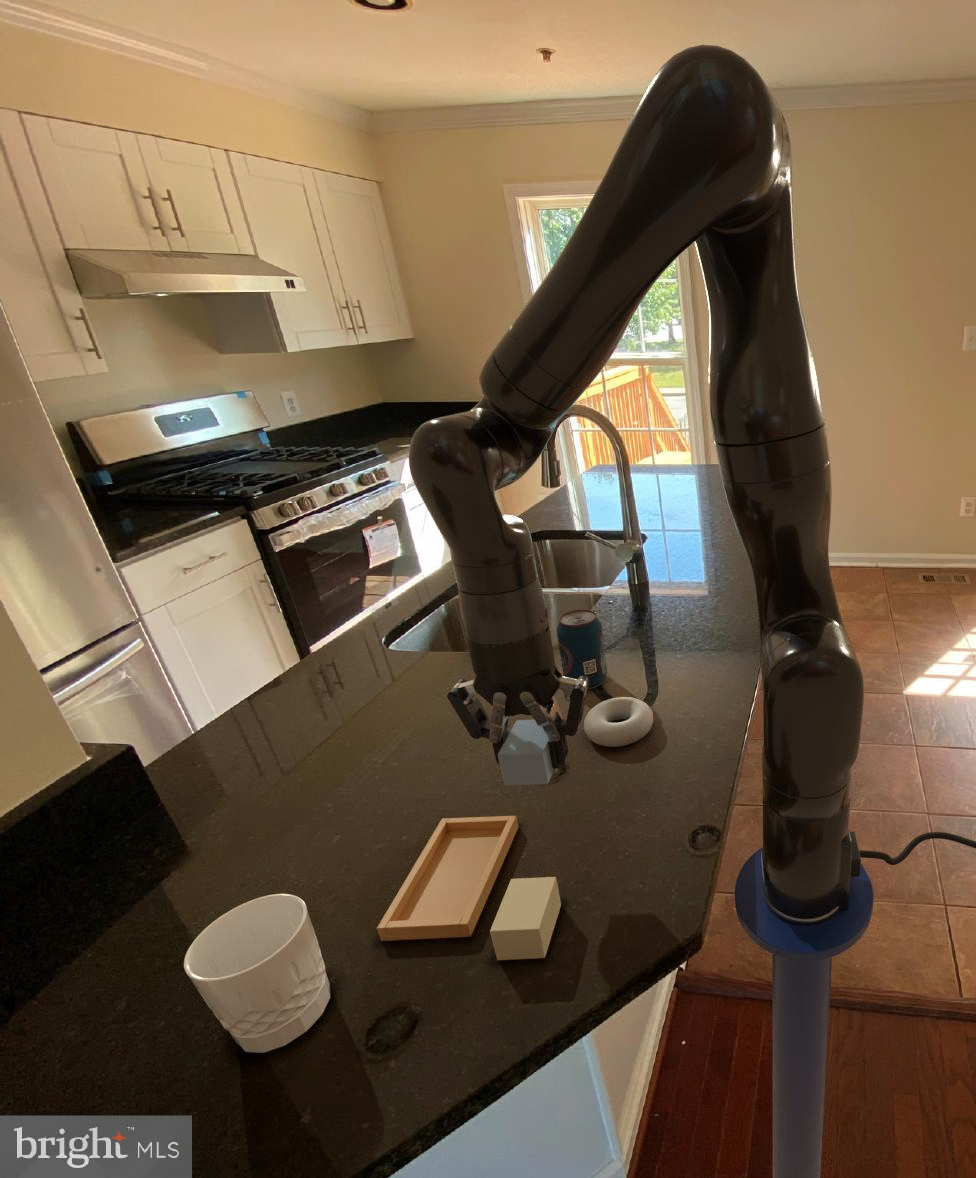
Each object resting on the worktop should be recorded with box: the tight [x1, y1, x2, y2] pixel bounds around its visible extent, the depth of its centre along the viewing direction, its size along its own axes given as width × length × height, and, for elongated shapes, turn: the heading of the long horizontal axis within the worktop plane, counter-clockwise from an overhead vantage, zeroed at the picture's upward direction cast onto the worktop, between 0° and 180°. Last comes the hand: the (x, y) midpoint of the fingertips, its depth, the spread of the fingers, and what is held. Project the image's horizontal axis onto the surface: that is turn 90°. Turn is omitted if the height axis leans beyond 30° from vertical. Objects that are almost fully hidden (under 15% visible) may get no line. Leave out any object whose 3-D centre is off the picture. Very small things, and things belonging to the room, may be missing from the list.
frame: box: [376, 815, 519, 942], centre depth 68 cm, size 9×15×2 cm, turn 3°
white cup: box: [183, 893, 331, 1054], centre depth 54 cm, size 8×8×10 cm
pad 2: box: [489, 876, 562, 961], centre depth 62 cm, size 4×6×4 cm
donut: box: [583, 696, 654, 748], centre depth 93 cm, size 10×4×10 cm
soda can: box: [556, 609, 608, 691], centre depth 103 cm, size 7×7×12 cm
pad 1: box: [498, 719, 556, 787], centre depth 68 cm, size 4×6×4 cm
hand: (534, 763), depth 68 cm, fingers closed on pad 1, 4 cm apart
